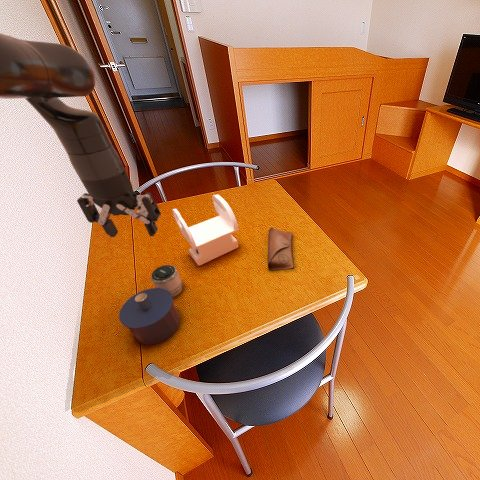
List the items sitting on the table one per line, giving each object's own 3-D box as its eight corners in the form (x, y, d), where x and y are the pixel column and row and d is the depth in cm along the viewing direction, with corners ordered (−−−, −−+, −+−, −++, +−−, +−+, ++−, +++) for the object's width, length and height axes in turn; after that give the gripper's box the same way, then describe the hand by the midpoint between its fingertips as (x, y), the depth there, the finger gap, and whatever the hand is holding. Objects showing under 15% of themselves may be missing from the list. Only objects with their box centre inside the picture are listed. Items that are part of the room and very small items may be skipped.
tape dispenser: (201, 271, 84) (185, 224, 72) (185, 249, 91) (167, 203, 80) (243, 251, 92) (234, 205, 80) (224, 232, 99) (214, 188, 87)
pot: (161, 349, 65) (150, 332, 60) (125, 338, 67) (111, 320, 62) (188, 314, 72) (180, 296, 68) (155, 304, 74) (145, 286, 69)
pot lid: (151, 336, 60) (143, 324, 57) (109, 323, 62) (99, 311, 59) (183, 296, 68) (178, 284, 65) (145, 286, 70) (138, 274, 67)
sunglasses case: (295, 267, 86) (283, 254, 82) (276, 276, 88) (264, 264, 83) (292, 231, 99) (282, 219, 95) (276, 240, 101) (265, 228, 97)
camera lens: (172, 302, 75) (162, 283, 70) (154, 294, 77) (144, 275, 72) (188, 285, 80) (180, 266, 75) (171, 279, 81) (162, 260, 76)
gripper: (48, 179, 50) (92, 246, 60) (131, 178, 51) (160, 244, 62) (73, 161, 56) (109, 225, 66) (147, 161, 57) (171, 224, 67)
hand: (134, 234), depth 64 cm, fingers open, 8 cm apart
